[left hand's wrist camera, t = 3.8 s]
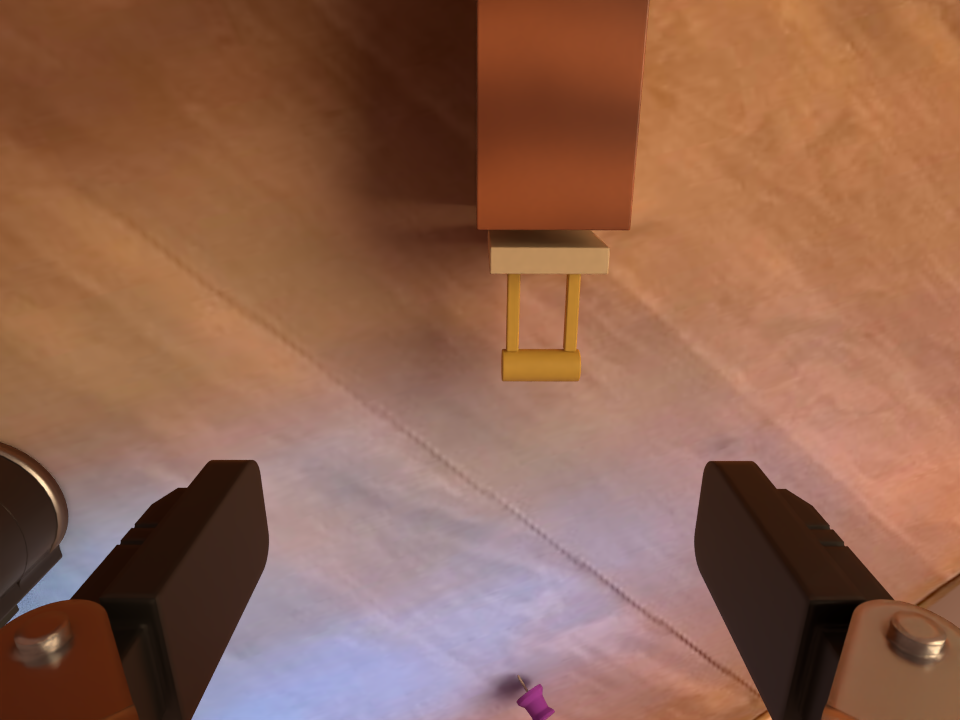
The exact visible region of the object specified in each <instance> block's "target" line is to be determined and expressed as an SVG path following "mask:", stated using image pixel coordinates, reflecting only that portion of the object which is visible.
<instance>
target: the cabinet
mask: <svg viewBox="0 0 960 720" xmlns="http://www.w3.org/2000/svg"><path fill="white" fill-rule="evenodd" d="M649 1H650V0H477V229H478V230H630V224H631V212H632V200H633V189H634V177H635V165H636V153H637V142H638V130H639V118H640V106H641V95H642V83H643V71H644V60H645V48H646V36H647V24H648V13H649Z"/></svg>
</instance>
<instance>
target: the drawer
mask: <svg viewBox="0 0 960 720" xmlns="http://www.w3.org/2000/svg"><path fill="white" fill-rule="evenodd" d="M609 254H610V248H609V247H608V246H607V245H606V244H605V243H604V242H603V241H602V240H600V239H599V238H598V237H597V236H596V235H595V234H594V233H593V232H592V231H591V230H488V256H489V267H490V274H507V321H506V349H502V356H501V375H502V381H579V379H580V373H581V357H580V352H579V350H578V349H576V345H577V328H578V312H579V295H580V278H581V274H608V267H609ZM520 274H567V282H566V301H565V320H564V339H563V348H564V349H518V345H519V307H520Z"/></svg>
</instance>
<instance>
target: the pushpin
mask: <svg viewBox="0 0 960 720" xmlns="http://www.w3.org/2000/svg"><path fill="white" fill-rule="evenodd" d="M518 679H519V680H520V682H521V684H522V685H523V687H524V689H525V690H526V692H527V693H525V694H524V695H523V696H522V697H521V698H519V699H518V700H517V704H518V705H519V706H521V707H524V708H525V709H526V710H527V711H528V713H529V714H530V716H531V717H532V719H533V720H546V719H547V718H548V717H550V716H551V715H552V714H553V713H554V712H555V711H554V710H553V709H552V708H550V707H548V705H547V704H546V702H545V700H544V697H543V695H542V690H543V688H542V686H541V684H539V685H537V686H535V687H534V688H532V689H531V690H529V691H528V689H527V688H526V686H525V684H524V683H523V681H522V679H521V678H520V676H518Z"/></svg>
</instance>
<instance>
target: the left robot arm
mask: <svg viewBox="0 0 960 720" xmlns="http://www.w3.org/2000/svg"><path fill="white" fill-rule="evenodd" d="M67 525H68V509H67V504H66V501H65V498H64V495H63V493H62V491H61V489H60V487H59V485H58V484H57V483H56V481H55V480H54V478H53V477H52V476H51V475H50V473H49V472H48V471H47V470H46V469H45V468H44V467H43V466H41V465H40V464H39V463H38V462H37V461H35V460H34V459H33V458H31V457H30V456H28V455H27V454H25V453H23V452H21V451H20V450H18V449H16V448H13V447H11V446H8V445H6V444H3V443H0V720H191V719H192V717H193V715H194V713H195V711H196V709H197V707H198V704H199V702H200V700H201V698H202V696H203V694H204V692H205V690H206V688H207V686H208V684H209V682H210V680H211V678H212V676H213V674H214V671H215V669H216V667H217V665H218V663H219V661H220V659H221V657H222V655H223V653H224V651H225V649H226V647H227V645H228V643H229V640H230V638H231V636H232V634H233V632H234V630H235V628H236V626H237V624H238V622H239V620H240V618H241V616H242V614H243V612H244V610H245V607H246V605H247V603H248V601H249V599H250V597H251V595H252V593H253V591H254V589H255V587H256V585H257V583H258V581H259V579H260V577H261V574H262V572H263V570H264V568H265V565H266V561H267V556H268V549H269V533H268V525H267V518H266V511H265V504H264V497H263V489H262V482H261V475H260V470H259V466H258V464H257V463H256V461H254V460H211V461H209V462H208V463H207V464H206V465H205V466H204V468H203V469H202V470H201V471H200V473H199V474H198V475H197V476H196V478H195V479H194V480H193V481H192V483H191V484H190V485H189V486H188V488H177V489H175V490H174V491H172V492H171V493H169V494H168V495H166V496H164V497H163V498H161V499H160V500H158V501H157V502H155V503H153V504H152V505H151V506H150V507H149V508H148V509H147V511H146V512H145V513H144V514H143V515H142V516H141V518H140V519H139V520H138V521H137V522H136V523H135V527H134V528H131V529H130V530H129V531H128V533H127V534H126V535H125V536H124V537H123V538H122V540H121V544H120V545H116V547H115V548H114V549H113V550H112V551H111V552H110V554H109V555H108V556H107V557H106V558H105V559H104V560H103V562H102V563H101V564H100V565H99V566H98V567H97V569H96V570H95V571H94V572H93V573H92V574H91V576H90V577H89V578H88V579H87V580H86V581H85V583H84V584H83V585H82V586H81V587H80V588H79V589H78V591H77V592H76V593H75V594H74V595H73V596H72V598H71V599H70V600H65V601H59V602H55V603H50V604H47V605H44V606H41V607H38V608H36V609H33V610H31V611H29V612H27V613H25V614H23V615H21V616H19V617H17V618H15V619H14V620H12V621H10V622H9V623H7V622H8V621H9V620H10V619H11V618H12V617H13V616H14V615H15V614H16V613H17V612H18V611H19V608H18V606H17V604H18V603H19V602H20V600H21V599H22V598H23V597H24V596H25V595H26V594H27V593H28V592H29V591H30V590H31V589H32V588H33V587H34V586H35V585H36V584H37V583H38V582H39V581H40V580H41V579H42V578H43V577H44V576H45V574H46V573H47V572H48V571H49V570H50V569H51V568H52V567H53V566H54V565H55V564H56V563H57V562H58V561H59V560H60V559H61V558H62V553H61V551H60V547H59V544H60V542H61V541H62V539H63V537H64V535H65V533H66V530H67ZM829 526H830V525H829V524H828V523H827V522H826V521H825V520H824V519H823V517H822V516H821V515H820V514H819V513H818V512H817V511H816V509H815V508H814V507H813V506H812V505H810V504H809V503H807V502H806V501H804V500H802V499H801V498H799V497H798V496H796V495H795V494H793V493H791V492H790V491H788V490H787V489H776V488H775V486H774V485H773V484H772V483H771V481H770V480H769V479H768V478H767V476H766V475H765V474H764V473H763V472H762V470H761V469H760V468H759V467H758V465H757V464H756V463H755V462H753V461H709V462H708V463H707V464H706V466H705V469H704V472H703V479H702V486H701V493H700V500H699V507H698V514H697V521H696V528H695V536H694V547H695V556H696V561H697V565H698V568H699V571H700V573H701V575H702V577H703V579H704V581H705V583H706V585H707V587H708V589H709V591H710V593H711V596H712V598H713V600H714V602H715V604H716V606H717V608H718V610H719V612H720V614H721V616H722V618H723V620H724V622H725V624H726V626H727V628H728V630H729V632H730V634H731V636H732V638H733V640H734V642H735V644H736V646H737V648H738V651H739V653H740V655H741V657H742V659H743V661H744V663H745V665H746V667H747V669H748V671H749V673H750V675H751V677H752V679H753V681H754V683H755V685H756V687H757V689H758V691H759V693H760V695H761V697H762V699H763V701H764V704H765V706H766V708H767V710H768V712H769V714H770V716H771V718H772V720H960V629H959V628H958V627H957V626H955V625H954V624H953V623H951V622H949V621H948V620H946V619H945V618H943V617H941V616H939V615H937V614H935V613H933V612H931V611H929V610H927V609H924V608H922V607H919V606H916V605H913V604H910V603H905V602H901V601H895V600H894V599H893V598H892V597H891V596H890V594H889V593H888V592H887V591H886V590H885V589H884V588H883V586H882V585H881V584H880V583H879V582H878V581H877V580H876V578H875V577H874V576H873V575H872V574H871V573H870V571H869V570H868V569H867V568H866V567H865V566H864V565H863V563H862V562H861V561H860V560H859V559H858V558H857V557H856V555H855V554H854V553H853V552H852V551H851V550H850V548H849V547H848V546H844V542H843V540H842V539H841V538H840V537H839V536H838V535H837V534H836V532H835V531H834V530H830V527H829ZM6 623H7V624H6Z"/></svg>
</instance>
